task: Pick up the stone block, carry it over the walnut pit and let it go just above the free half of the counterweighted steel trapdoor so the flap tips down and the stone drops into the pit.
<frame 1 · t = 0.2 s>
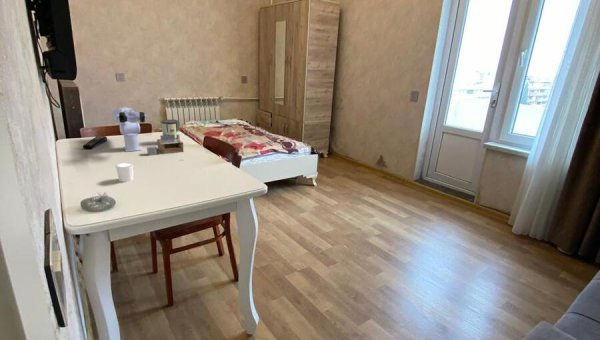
hand: (134, 119, 169), 21 cm above the table, tool horizontal, fingers open, 7 cm apart
coffee can: (171, 142, 210), on the table
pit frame: (170, 150, 193), on the table
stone: (152, 154, 184), on the table
trapdoor: (169, 139, 192), point 6 cm above the table, hinge at 0.0°
white cup: (126, 180, 146), on the table
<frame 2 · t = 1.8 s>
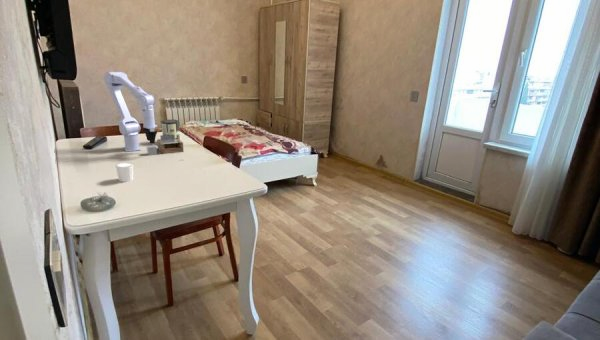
hand: (151, 141, 182), 7 cm above the table, tool pointing down, fingers open, 7 cm apart
nothing on the table moved.
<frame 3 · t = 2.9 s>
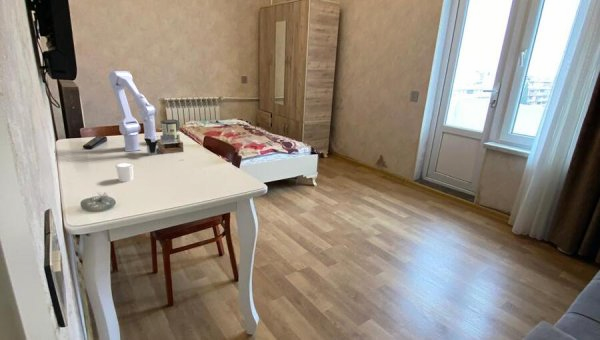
hand: (151, 151, 183), 1 cm above the table, tool pointing down, fingers closed on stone, 4 cm apart
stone: (152, 154, 184), on the table, touching gripper
everything else where it was.
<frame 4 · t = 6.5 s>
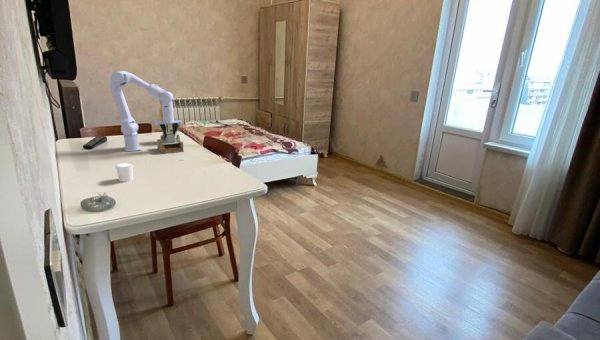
hand: (169, 136, 190), 8 cm above the table, tool pointing down, fingers closed on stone, 4 cm apart
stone: (170, 141, 190), point 5 cm above the table, touching gripper
trapdoor: (169, 139, 192), point 6 cm above the table, hinge at -2.9°
everything else where it was.
when the fingers open (8 cm above the table, at t = 6.6 s): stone drops 2 cm, resting on trapdoor.
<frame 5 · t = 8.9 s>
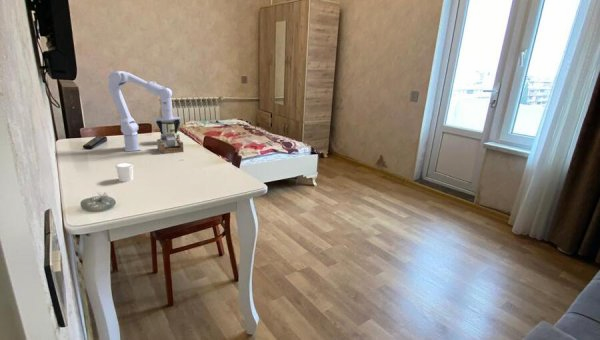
hand: (168, 133, 189), 10 cm above the table, tool pointing down, fingers open, 7 cm apart
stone: (170, 144, 191), point 4 cm above the table, tilted 20°, touching trapdoor
trapdoor: (169, 140, 192), point 6 cm above the table, hinge at -19.6°, touching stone
everything else where it was.
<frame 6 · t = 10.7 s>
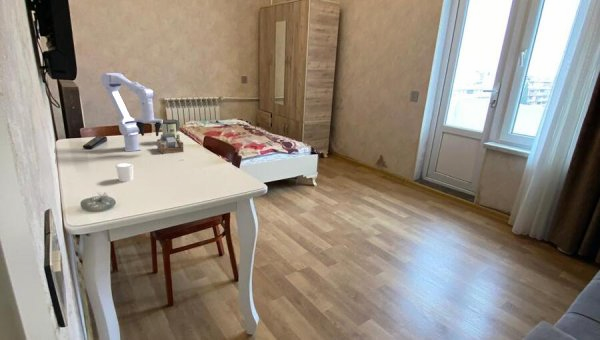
hand: (150, 135, 181), 10 cm above the table, tool pointing down, fingers open, 7 cm apart
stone: (170, 145, 191), point 3 cm above the table, tilted 28°, touching trapdoor
trapdoor: (169, 141, 192), point 5 cm above the table, hinge at -27.8°, touching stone
everything else where it was.
at the end: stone point 3.1 cm above the table; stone inside the target area on the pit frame (0.1 cm from its centre), point 3.1 cm above the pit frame's base; the gripper is holding nothing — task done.
